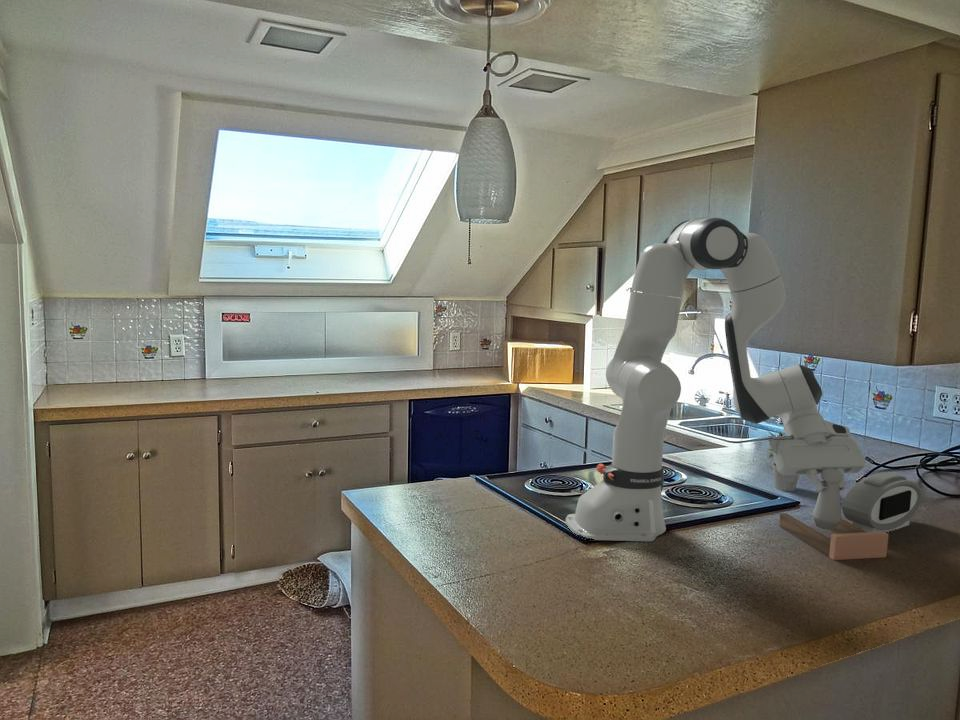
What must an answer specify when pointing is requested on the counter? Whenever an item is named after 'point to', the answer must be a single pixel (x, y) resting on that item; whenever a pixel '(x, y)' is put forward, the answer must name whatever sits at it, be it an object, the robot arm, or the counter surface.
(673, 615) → the counter surface
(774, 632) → the counter surface
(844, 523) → the walnut channel
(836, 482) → the salt shaker
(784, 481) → the house plant
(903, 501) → the alarm clock
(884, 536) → the block
